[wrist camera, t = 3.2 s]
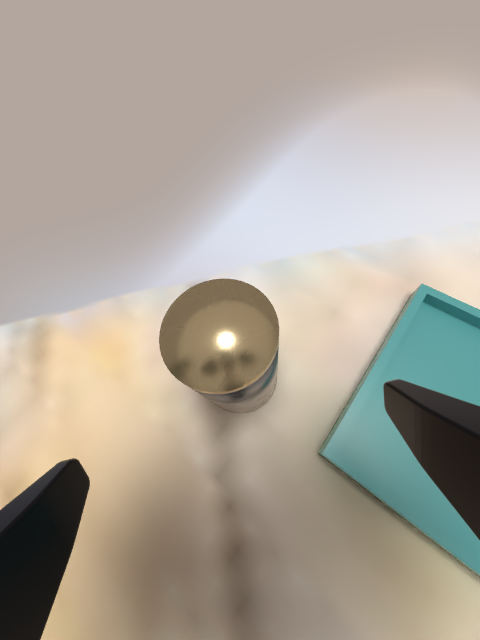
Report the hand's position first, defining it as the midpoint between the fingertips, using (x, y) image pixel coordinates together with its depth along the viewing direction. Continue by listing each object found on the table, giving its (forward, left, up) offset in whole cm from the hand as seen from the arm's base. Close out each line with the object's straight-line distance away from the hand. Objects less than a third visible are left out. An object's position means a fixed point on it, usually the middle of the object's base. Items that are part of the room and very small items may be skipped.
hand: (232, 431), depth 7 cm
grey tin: (+3, +3, -11) cm, 12 cm away
